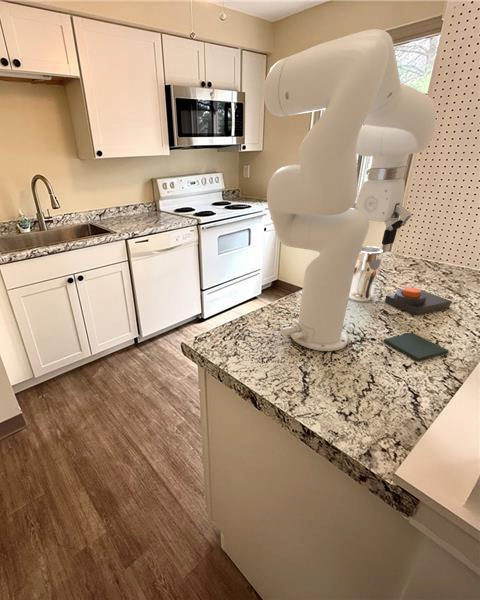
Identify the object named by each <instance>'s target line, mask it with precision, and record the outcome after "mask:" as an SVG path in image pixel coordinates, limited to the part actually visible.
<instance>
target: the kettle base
mask: <svg viewBox="0 0 480 600" xmlns="http://www.w3.org/2000/svg"><path fill="white" fill-rule="evenodd" d="M403 290H404V288H403V289H397V290H396V291H395V293H391V294H388V295H386V297H385V301H384V303H386V304H388V305H390V306H393V307H395V308H397V309H399V310H402V311H404V312H406V313H409V314H411V315H413V316H421V315H424V314H429V313H434V312H438V311H439V312H440V311H443V310H448V309H450V307H451V305H452V300H450V299H447V298H444V297H442V296H439V295H437V294H433V293H431V292H427V291H424V290H422V289H420V290H421V292H420V296H419V297H417V298H416V297H408V296H404V295H402V293H403Z"/></svg>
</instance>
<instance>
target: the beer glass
mask: <svg viewBox="0 0 480 600" xmlns="http://www.w3.org/2000/svg"><path fill="white" fill-rule="evenodd" d="M383 253H384V249H383V248H381V247H377V246H371V245H369V246H368V245H362V248H361V250H360V253H359V256H358V259H357V262H356V266H355V270H354V275H353V279H352V284H351V289H350V294H349V299H350V300H352V301H356V302H368V301H370V300H371V299H372V287H373V285H374V282H375V280H376V278H377V276H378V274H379V272H380V269H381V265H382V260H383Z"/></svg>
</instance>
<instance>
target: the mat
mask: <svg viewBox="0 0 480 600" xmlns="http://www.w3.org/2000/svg"><path fill="white" fill-rule="evenodd" d="M383 343H384V344H387V345H388V346H389V347H391V348H394V350H397V351H399V352H401V353H402V354H404V355H406V356H408V357H410V358H411V359H412V360H414V361H417V362H420V361H424V360H427V359H431V358H435V357H439V356H443V355H447V354H448V353H449V350H448V348H447V349H446V348H445V347H443V346H441V345H438V344H436V343H434V342H432V341H430V340H429V339H426V338H424V337H422V336H420V335H418V334H416V333H414V332H409V333H405V334H400V335H396V336H393V337H388V338H385V339H383Z"/></svg>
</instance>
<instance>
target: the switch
mask: <svg viewBox="0 0 480 600" xmlns="http://www.w3.org/2000/svg"><path fill="white" fill-rule="evenodd" d="M403 289H404V290H403V293H402V295H404V296H408V297H416V298H417V297H419V296H420V292H421V290H422V289H420V288H417V287H412V286H405V287H403Z"/></svg>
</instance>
